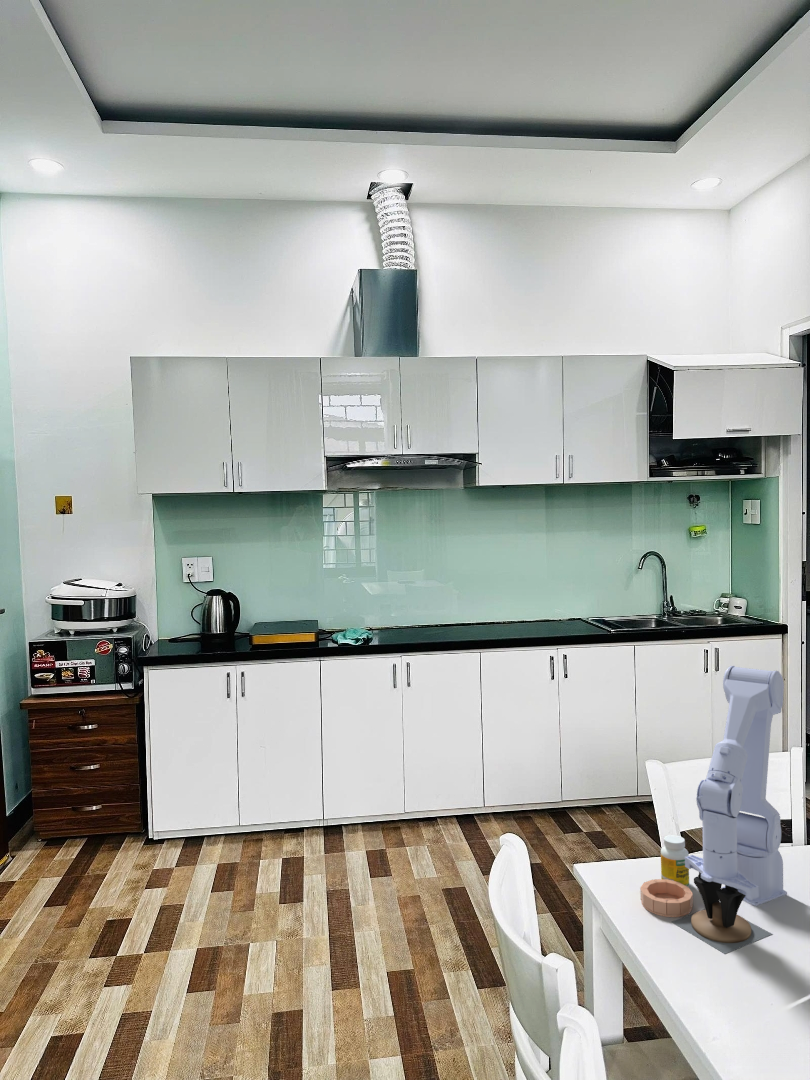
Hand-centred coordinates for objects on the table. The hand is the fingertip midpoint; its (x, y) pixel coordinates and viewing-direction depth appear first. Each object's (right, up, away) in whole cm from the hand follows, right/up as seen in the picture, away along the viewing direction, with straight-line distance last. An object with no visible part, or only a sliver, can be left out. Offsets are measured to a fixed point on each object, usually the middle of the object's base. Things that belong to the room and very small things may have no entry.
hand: (720, 921), depth 142 cm
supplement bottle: (-2, -1, +17) cm, 17 cm away
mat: (0, -2, 0) cm, 2 cm away
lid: (0, -1, 0) cm, 1 cm away
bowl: (-7, -1, +9) cm, 11 cm away
